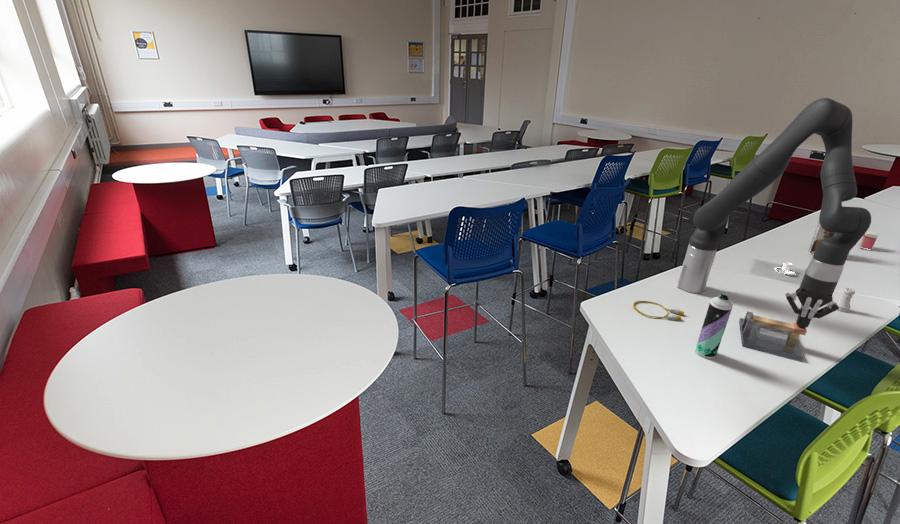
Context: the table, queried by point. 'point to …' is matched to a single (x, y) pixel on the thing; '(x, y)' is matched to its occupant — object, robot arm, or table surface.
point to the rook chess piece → (845, 300)
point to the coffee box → (819, 237)
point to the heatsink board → (770, 345)
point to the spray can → (714, 326)
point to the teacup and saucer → (786, 268)
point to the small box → (868, 239)
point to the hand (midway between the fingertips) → (801, 326)
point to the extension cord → (675, 311)
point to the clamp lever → (777, 324)
